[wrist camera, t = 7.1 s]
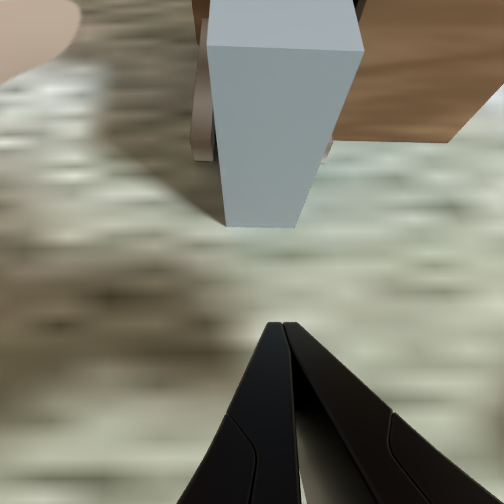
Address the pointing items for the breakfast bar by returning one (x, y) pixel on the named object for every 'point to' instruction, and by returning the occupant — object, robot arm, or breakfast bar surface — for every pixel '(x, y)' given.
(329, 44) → the gray rectangular box
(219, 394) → the breakfast bar surface
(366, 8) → the cubby cabinet
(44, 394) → the breakfast bar surface
